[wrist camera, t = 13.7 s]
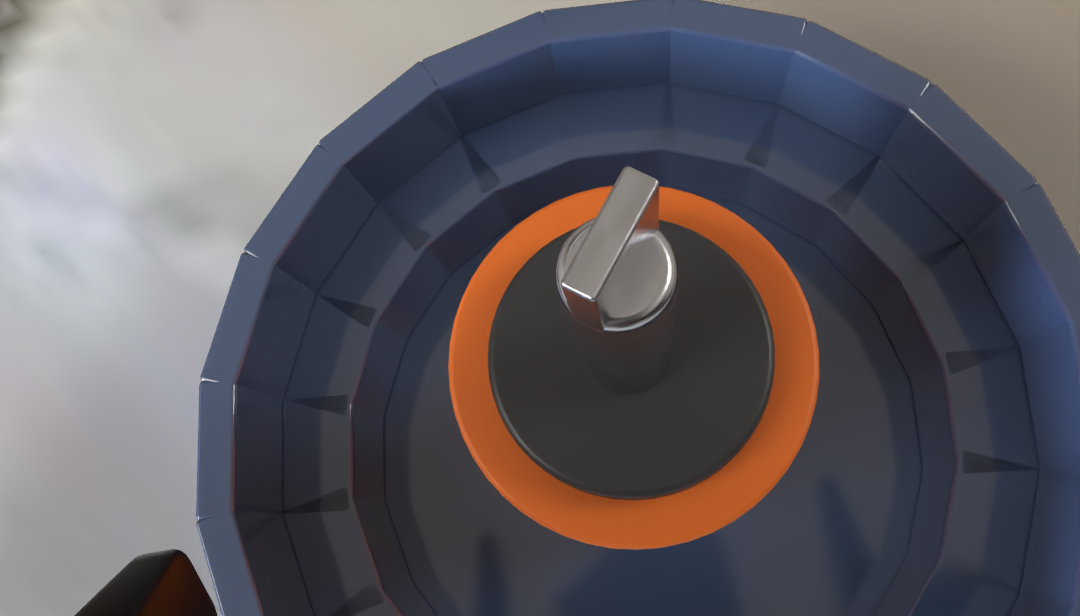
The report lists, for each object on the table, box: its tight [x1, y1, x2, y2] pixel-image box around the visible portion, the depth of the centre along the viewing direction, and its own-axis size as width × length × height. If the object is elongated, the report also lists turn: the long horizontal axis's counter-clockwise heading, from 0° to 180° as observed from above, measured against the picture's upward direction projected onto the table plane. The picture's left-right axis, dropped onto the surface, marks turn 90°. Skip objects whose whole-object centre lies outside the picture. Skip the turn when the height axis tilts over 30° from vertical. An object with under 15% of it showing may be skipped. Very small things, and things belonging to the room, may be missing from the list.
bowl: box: [196, 0, 1080, 616], centre depth 16 cm, size 13×13×4 cm
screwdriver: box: [448, 166, 820, 550], centre depth 11 cm, size 3×3×13 cm
